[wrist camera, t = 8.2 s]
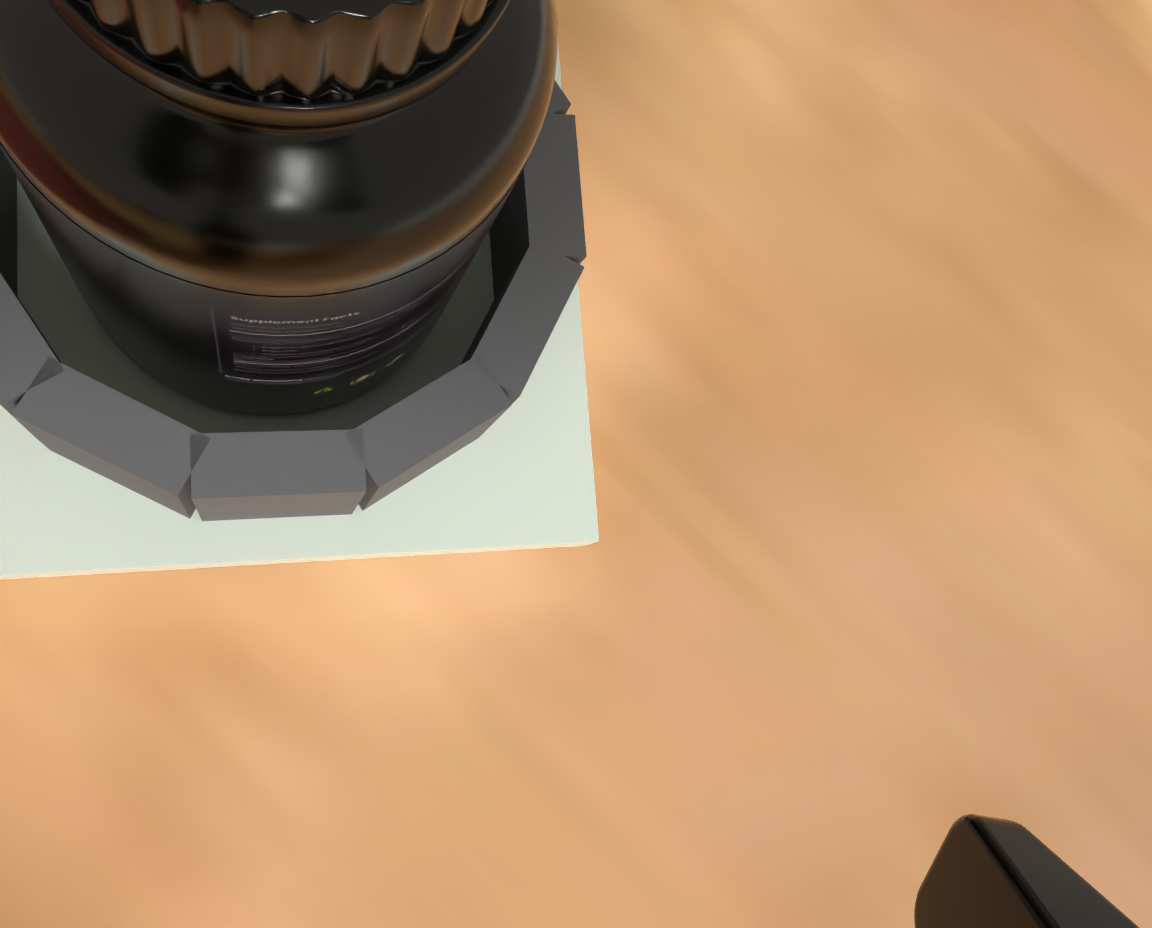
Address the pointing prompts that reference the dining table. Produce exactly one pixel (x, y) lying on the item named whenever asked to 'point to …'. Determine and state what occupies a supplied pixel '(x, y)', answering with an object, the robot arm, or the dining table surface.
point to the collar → (321, 457)
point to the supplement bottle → (271, 174)
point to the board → (385, 529)
